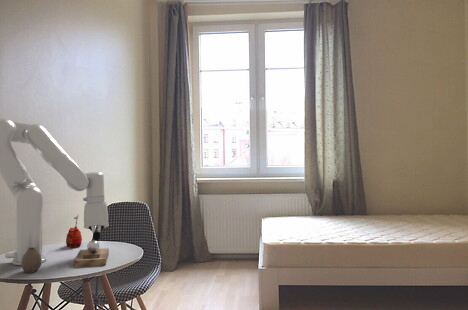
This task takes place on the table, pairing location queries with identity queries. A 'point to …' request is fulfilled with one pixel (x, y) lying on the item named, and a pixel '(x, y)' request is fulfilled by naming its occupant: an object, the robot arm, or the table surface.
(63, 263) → the table surface
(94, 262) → the board
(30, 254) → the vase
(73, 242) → the red clay folk toy
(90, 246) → the ball
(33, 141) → the robot arm
